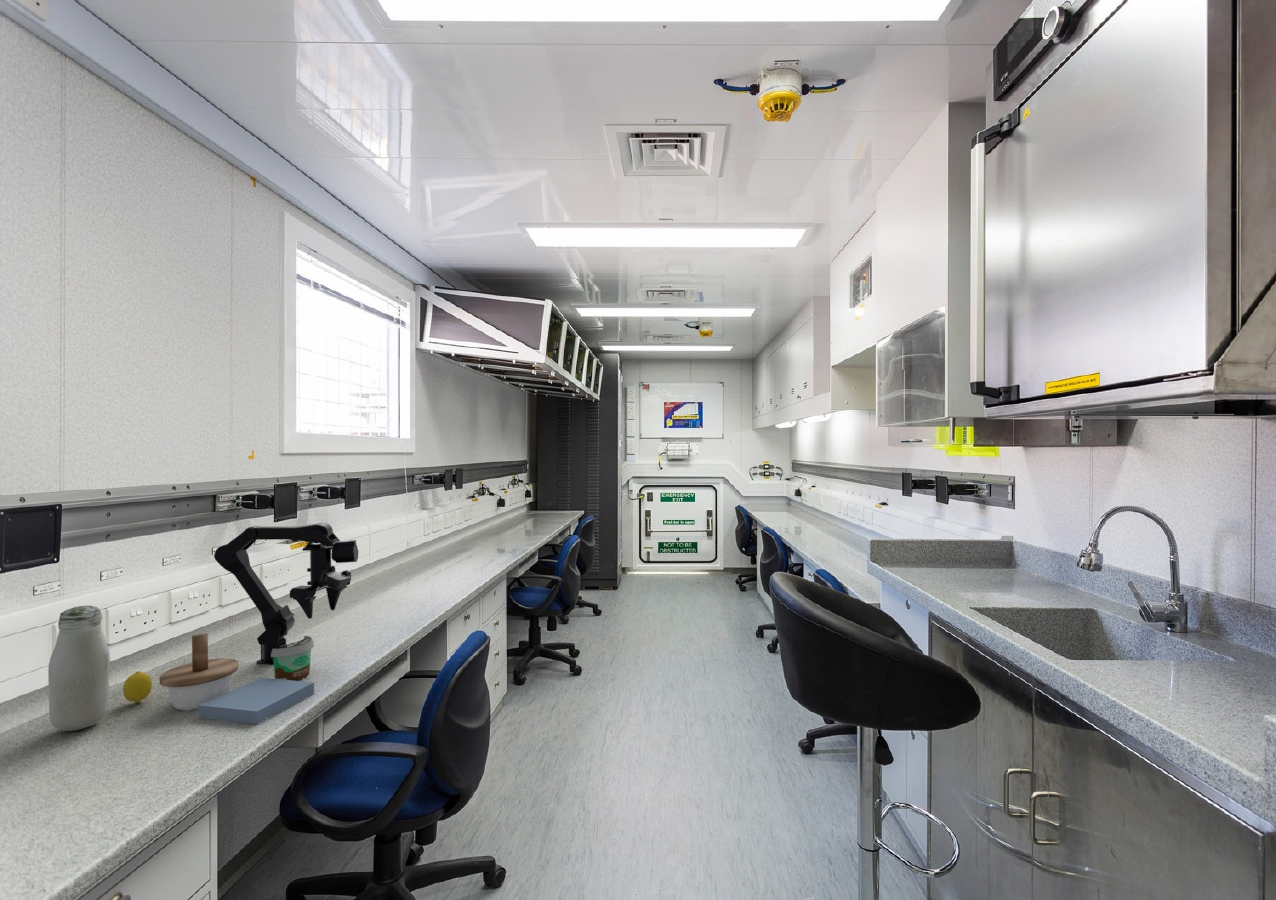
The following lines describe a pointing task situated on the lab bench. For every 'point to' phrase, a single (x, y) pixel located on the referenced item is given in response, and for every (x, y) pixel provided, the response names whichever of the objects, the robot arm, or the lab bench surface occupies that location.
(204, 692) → the ramekin
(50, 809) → the lab bench surface
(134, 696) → the lemon
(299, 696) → the mat
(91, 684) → the glass bottle
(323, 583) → the robot arm
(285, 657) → the food container
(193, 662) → the lid
